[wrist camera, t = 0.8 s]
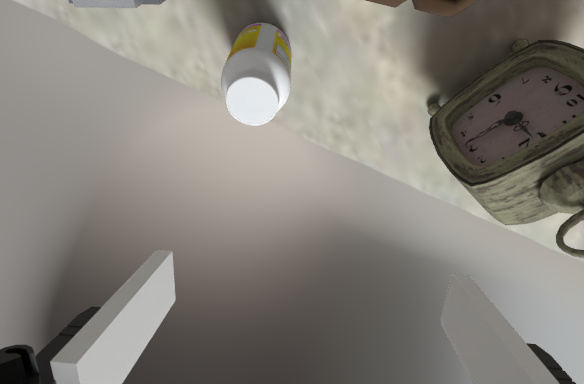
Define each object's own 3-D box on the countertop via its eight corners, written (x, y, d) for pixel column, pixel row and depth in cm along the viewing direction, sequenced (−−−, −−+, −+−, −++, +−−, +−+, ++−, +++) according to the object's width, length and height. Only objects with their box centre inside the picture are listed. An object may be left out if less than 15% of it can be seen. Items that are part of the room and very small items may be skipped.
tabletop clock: (527, 19, 35) (784, 149, 17) (557, 75, 39) (791, 232, 21) (411, 107, 42) (500, 268, 24) (447, 147, 46) (546, 312, 28)
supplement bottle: (228, 68, 39) (206, 121, 30) (243, 11, 35) (221, 51, 26) (281, 87, 41) (275, 144, 31) (300, 34, 37) (300, 81, 27)
